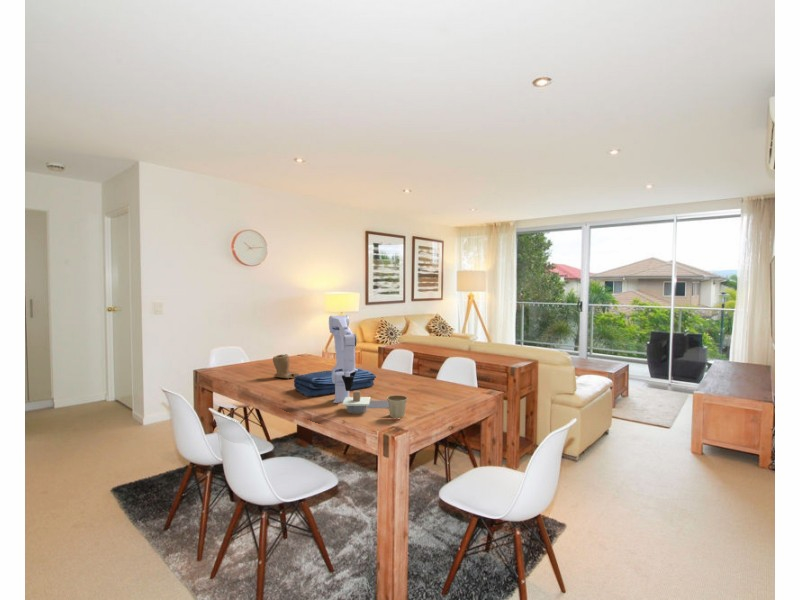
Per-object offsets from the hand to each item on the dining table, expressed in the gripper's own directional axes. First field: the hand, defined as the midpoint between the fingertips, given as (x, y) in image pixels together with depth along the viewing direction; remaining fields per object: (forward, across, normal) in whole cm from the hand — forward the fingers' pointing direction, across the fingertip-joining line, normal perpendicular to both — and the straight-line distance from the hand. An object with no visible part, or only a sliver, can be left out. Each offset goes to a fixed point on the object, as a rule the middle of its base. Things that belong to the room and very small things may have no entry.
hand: (349, 388), depth 199 cm
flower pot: (+10, -11, -22) cm, 27 cm away
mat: (+10, +8, -15) cm, 19 cm away
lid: (+6, -2, -4) cm, 7 cm away
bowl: (+10, -2, -4) cm, 11 cm away
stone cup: (+11, +71, +48) cm, 87 cm away
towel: (+11, +44, +12) cm, 47 cm away
